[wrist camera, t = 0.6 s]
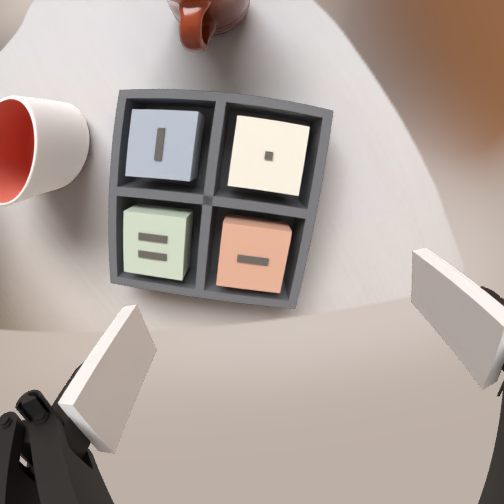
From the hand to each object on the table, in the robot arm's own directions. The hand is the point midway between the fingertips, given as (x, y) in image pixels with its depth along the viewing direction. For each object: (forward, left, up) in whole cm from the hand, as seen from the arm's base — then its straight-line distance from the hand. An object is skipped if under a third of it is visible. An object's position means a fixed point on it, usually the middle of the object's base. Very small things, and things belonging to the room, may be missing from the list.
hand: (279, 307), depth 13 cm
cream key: (-1, +6, -15) cm, 16 cm away
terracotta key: (-1, -2, -15) cm, 15 cm away
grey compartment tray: (-5, +2, -18) cm, 18 cm away
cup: (-24, +6, -18) cm, 30 cm away
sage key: (-9, -2, -15) cm, 18 cm away
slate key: (-9, +6, -15) cm, 19 cm away
